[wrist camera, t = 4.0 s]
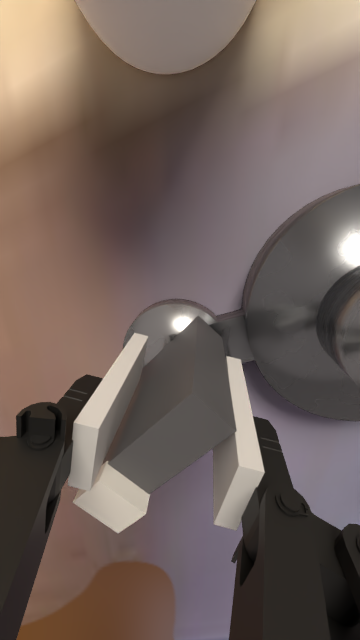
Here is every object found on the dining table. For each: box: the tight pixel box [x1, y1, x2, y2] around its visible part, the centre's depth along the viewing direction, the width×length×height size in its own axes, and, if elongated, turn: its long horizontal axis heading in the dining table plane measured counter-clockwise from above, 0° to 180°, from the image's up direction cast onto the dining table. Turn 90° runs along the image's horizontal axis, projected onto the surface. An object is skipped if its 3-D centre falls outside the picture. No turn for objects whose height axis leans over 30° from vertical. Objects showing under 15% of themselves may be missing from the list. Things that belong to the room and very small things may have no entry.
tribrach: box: [123, 184, 360, 421], centre depth 13 cm, size 25×24×6 cm
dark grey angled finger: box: [73, 316, 237, 533], centre depth 12 cm, size 6×2×8 cm, turn 137°
